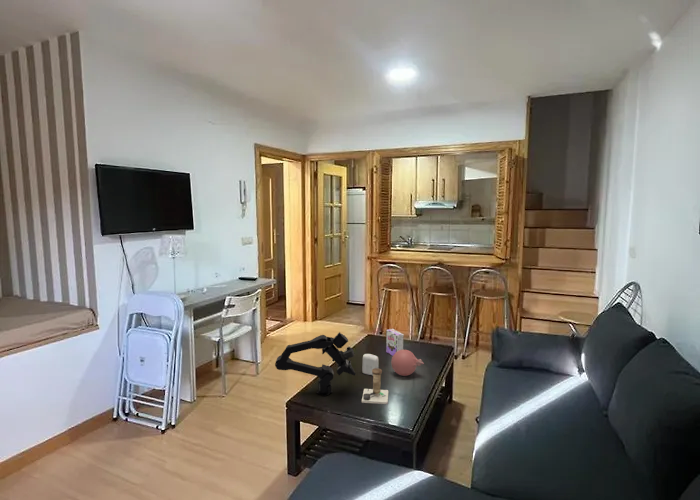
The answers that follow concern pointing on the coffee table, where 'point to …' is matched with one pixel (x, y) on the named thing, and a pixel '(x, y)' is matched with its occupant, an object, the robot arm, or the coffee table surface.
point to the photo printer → (369, 363)
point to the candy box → (393, 341)
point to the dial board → (376, 397)
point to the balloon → (405, 362)
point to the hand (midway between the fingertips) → (355, 374)
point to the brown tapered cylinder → (375, 383)
